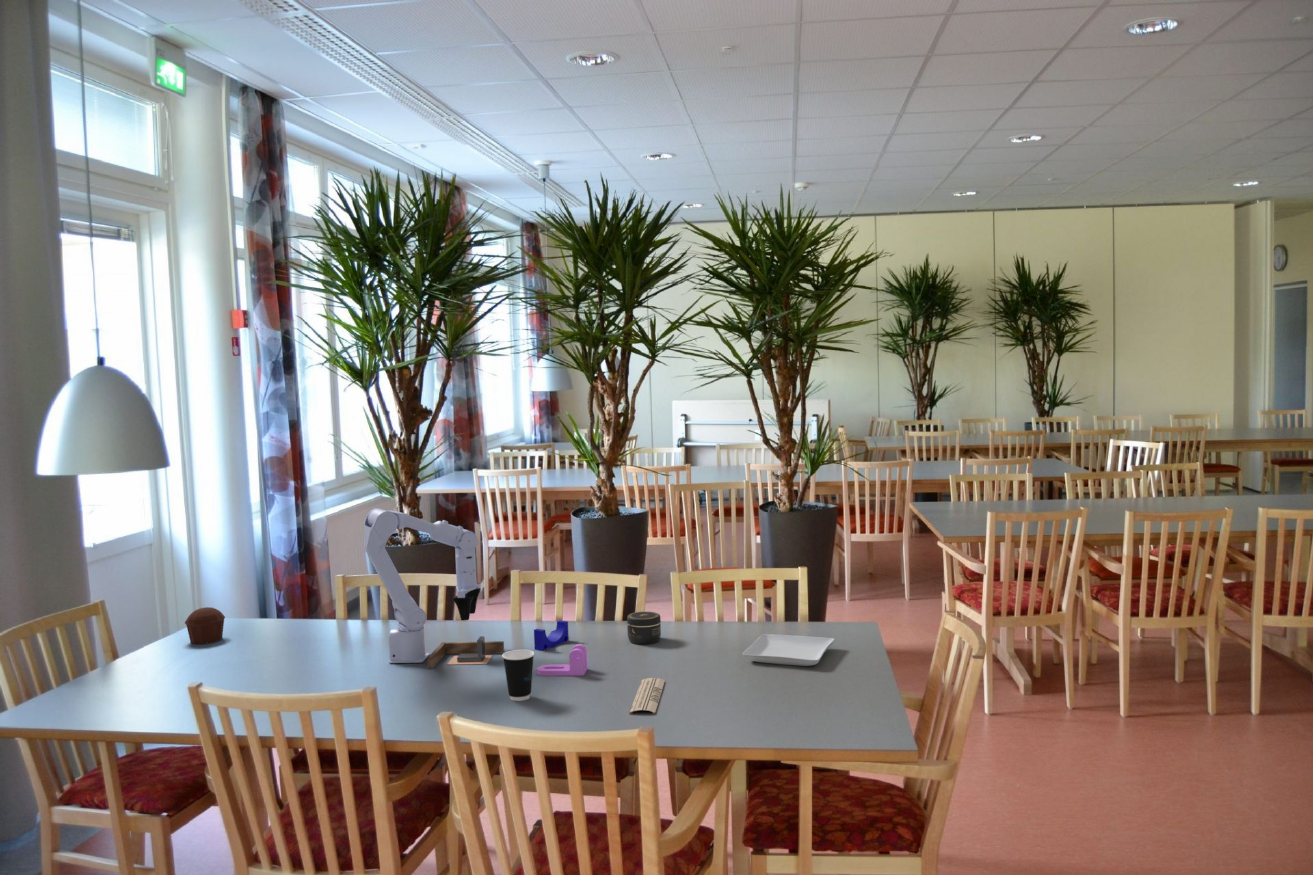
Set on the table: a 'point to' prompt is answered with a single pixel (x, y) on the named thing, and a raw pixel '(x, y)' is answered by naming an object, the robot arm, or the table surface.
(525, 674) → the dixie cup
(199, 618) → the muffin
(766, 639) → the salad plate
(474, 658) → the angle bracket
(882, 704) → the table surface
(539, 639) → the blue cradle block
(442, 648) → the corner walls
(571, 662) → the bracket
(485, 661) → the mat
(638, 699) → the newspaper
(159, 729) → the table surface
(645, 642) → the jar
